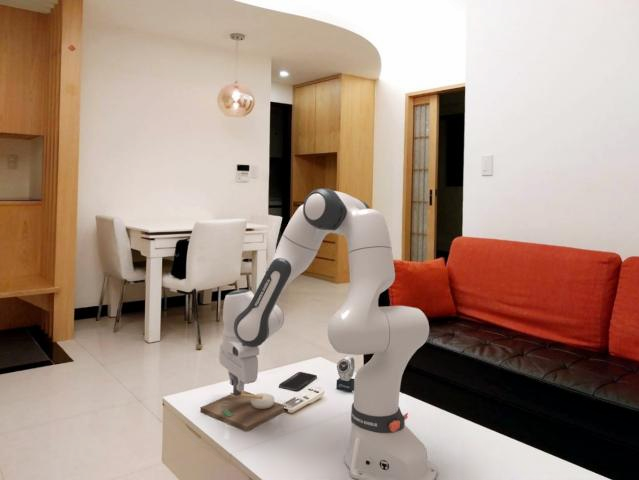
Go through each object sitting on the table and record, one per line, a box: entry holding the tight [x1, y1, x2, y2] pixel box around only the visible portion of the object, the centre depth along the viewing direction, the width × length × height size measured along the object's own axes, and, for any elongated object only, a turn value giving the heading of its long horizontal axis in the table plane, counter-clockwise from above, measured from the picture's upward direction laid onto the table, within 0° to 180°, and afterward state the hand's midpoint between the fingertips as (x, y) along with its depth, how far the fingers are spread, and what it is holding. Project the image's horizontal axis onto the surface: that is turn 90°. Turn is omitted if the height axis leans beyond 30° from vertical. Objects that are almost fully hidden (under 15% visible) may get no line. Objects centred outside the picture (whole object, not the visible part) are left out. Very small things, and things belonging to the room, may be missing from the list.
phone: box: [278, 371, 318, 393], centre depth 171 cm, size 8×1×15 cm
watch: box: [335, 355, 356, 393], centre depth 166 cm, size 6×8×11 cm
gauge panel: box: [200, 390, 287, 433], centre depth 147 cm, size 19×17×2 cm
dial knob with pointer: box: [229, 375, 275, 409], centre depth 149 cm, size 14×7×8 cm, turn 82°
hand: (236, 387), depth 149 cm, fingers open, 4 cm apart
